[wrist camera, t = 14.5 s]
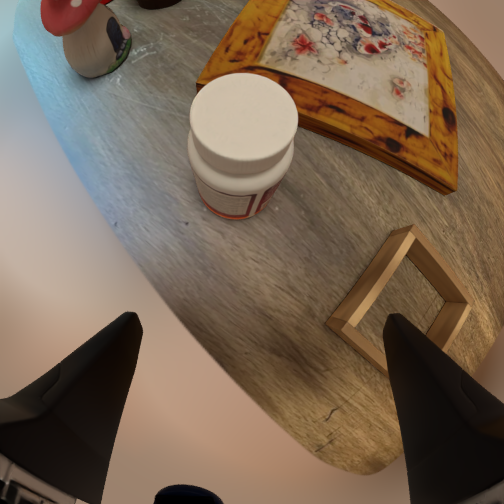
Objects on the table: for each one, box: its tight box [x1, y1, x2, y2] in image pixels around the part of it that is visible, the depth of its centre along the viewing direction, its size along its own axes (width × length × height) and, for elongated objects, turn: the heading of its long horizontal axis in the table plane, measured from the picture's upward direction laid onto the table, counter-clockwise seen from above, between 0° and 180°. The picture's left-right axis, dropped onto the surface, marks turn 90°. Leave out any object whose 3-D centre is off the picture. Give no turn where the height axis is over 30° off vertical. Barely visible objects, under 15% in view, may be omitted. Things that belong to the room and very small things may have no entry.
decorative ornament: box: [41, 0, 131, 78], centre depth 16 cm, size 9×6×15 cm
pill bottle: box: [187, 73, 298, 220], centre depth 18 cm, size 6×6×11 cm
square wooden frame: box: [325, 224, 475, 378], centre depth 22 cm, size 11×11×4 cm
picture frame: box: [196, 0, 458, 196], centre depth 25 cm, size 27×2×30 cm
